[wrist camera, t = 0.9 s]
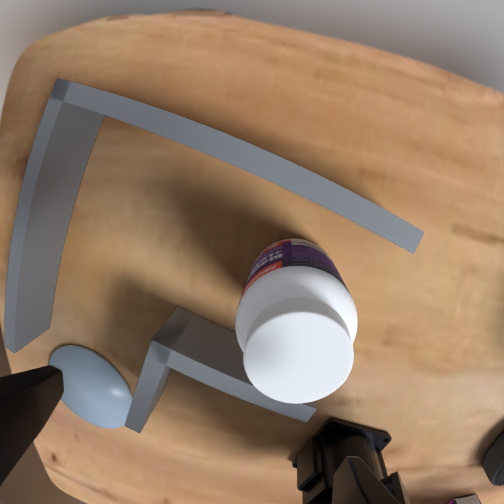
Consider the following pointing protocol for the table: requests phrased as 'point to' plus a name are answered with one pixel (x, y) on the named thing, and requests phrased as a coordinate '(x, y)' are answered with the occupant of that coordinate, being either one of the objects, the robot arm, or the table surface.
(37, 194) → the channel
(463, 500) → the candy bar box
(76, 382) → the pad
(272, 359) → the pill bottle
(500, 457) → the smart speaker
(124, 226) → the table surface
